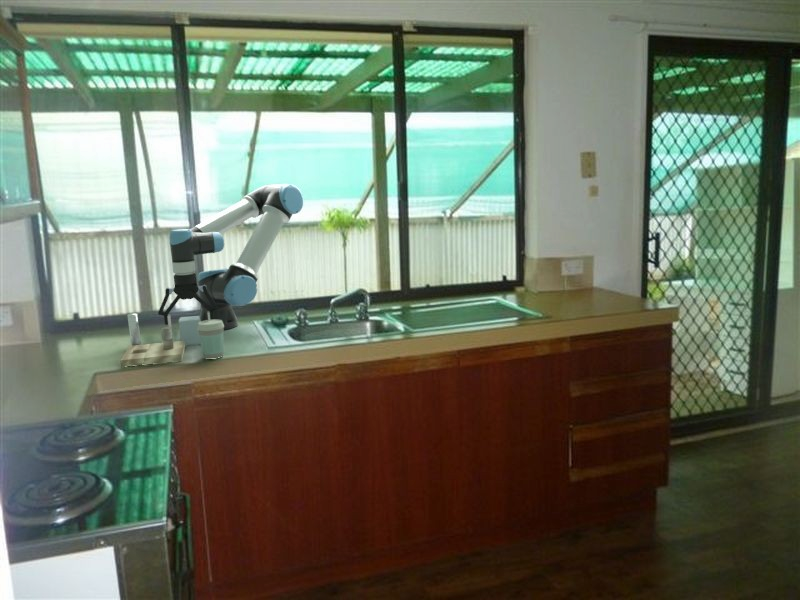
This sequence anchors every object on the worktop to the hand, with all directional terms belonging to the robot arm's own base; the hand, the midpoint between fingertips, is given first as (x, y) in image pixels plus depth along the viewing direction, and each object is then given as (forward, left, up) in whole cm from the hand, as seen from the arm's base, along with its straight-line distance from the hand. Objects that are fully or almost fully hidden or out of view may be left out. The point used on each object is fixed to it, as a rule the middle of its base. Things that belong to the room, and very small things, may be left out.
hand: (190, 331), depth 218 cm
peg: (+19, -2, -4) cm, 20 cm away
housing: (0, 0, -4) cm, 4 cm away
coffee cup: (-8, +23, -4) cm, 25 cm away
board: (+11, +15, -4) cm, 19 cm away
